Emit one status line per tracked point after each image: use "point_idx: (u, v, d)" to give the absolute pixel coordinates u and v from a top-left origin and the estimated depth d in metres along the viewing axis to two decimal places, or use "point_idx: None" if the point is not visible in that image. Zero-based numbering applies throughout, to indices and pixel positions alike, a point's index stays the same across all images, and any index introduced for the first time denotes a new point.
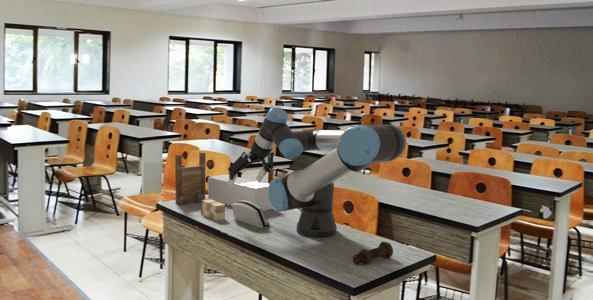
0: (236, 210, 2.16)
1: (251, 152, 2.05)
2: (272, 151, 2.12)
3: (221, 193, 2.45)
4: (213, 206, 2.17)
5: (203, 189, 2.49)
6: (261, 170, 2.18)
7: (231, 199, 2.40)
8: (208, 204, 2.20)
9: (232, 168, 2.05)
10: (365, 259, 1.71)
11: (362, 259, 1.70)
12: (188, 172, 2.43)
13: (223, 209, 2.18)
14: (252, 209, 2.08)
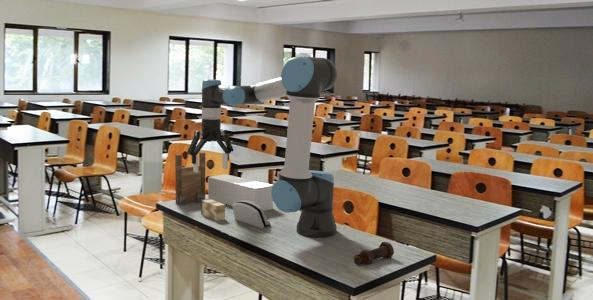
0: (236, 210, 2.15)
1: (202, 129, 2.16)
2: None
3: (221, 193, 2.45)
4: (213, 206, 2.17)
5: (203, 189, 2.49)
6: (223, 156, 2.25)
7: (231, 199, 2.40)
8: (208, 204, 2.20)
9: (190, 149, 2.14)
10: (367, 259, 1.71)
11: (364, 259, 1.70)
12: (188, 172, 2.43)
13: (223, 209, 2.18)
14: (253, 209, 2.08)
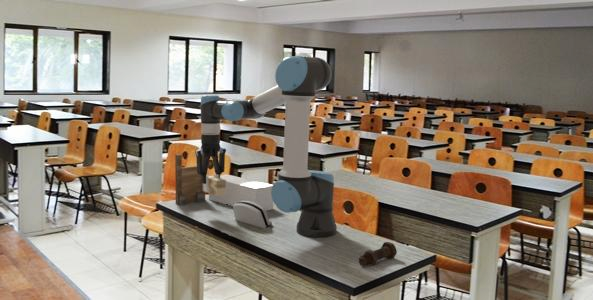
0: (237, 211, 2.15)
1: (201, 146, 2.17)
2: None
3: None
4: (214, 181, 2.16)
5: None
6: None
7: (232, 199, 2.40)
8: (208, 179, 2.19)
9: (198, 170, 2.17)
10: (371, 260, 1.70)
11: (369, 260, 1.69)
12: (188, 172, 2.43)
13: (224, 184, 2.16)
14: (255, 209, 2.07)
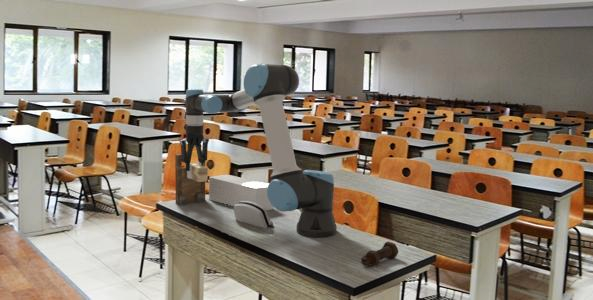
0: (238, 211, 2.14)
1: None
2: None
3: (222, 193, 2.44)
4: (196, 168, 2.34)
5: (203, 189, 2.49)
6: None
7: (232, 199, 2.40)
8: (192, 167, 2.37)
9: (183, 158, 2.35)
10: (374, 260, 1.70)
11: (371, 260, 1.69)
12: None
13: (206, 171, 2.34)
14: (256, 209, 2.07)
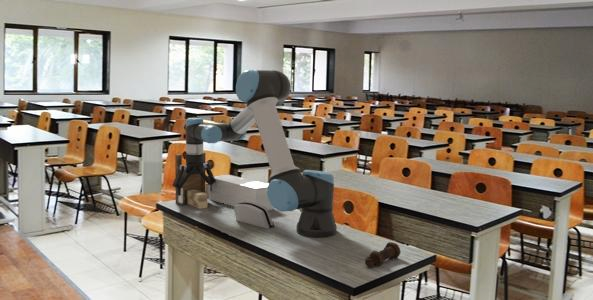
0: (239, 211, 2.14)
1: (186, 163, 2.37)
2: None
3: (222, 193, 2.44)
4: (196, 195, 2.35)
5: (203, 189, 2.49)
6: (206, 186, 2.45)
7: (232, 199, 2.40)
8: (192, 193, 2.38)
9: (175, 182, 2.34)
10: (378, 261, 1.69)
11: (375, 261, 1.68)
12: None
13: (206, 198, 2.36)
14: (258, 210, 2.07)
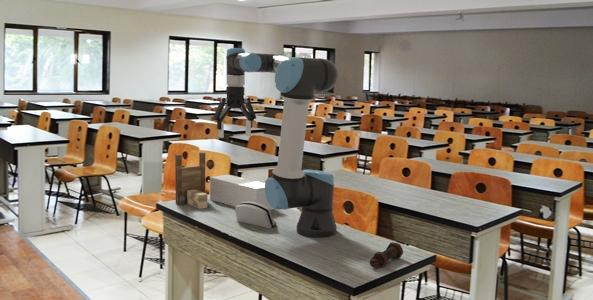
0: (240, 212, 2.13)
1: (227, 96, 2.24)
2: (247, 97, 2.31)
3: (223, 193, 2.44)
4: (196, 195, 2.35)
5: (203, 189, 2.49)
6: (246, 123, 2.33)
7: (233, 199, 2.40)
8: (192, 193, 2.38)
9: (216, 115, 2.22)
10: (382, 261, 1.69)
11: (380, 262, 1.68)
12: (188, 172, 2.43)
13: (206, 198, 2.36)
14: (261, 210, 2.07)
